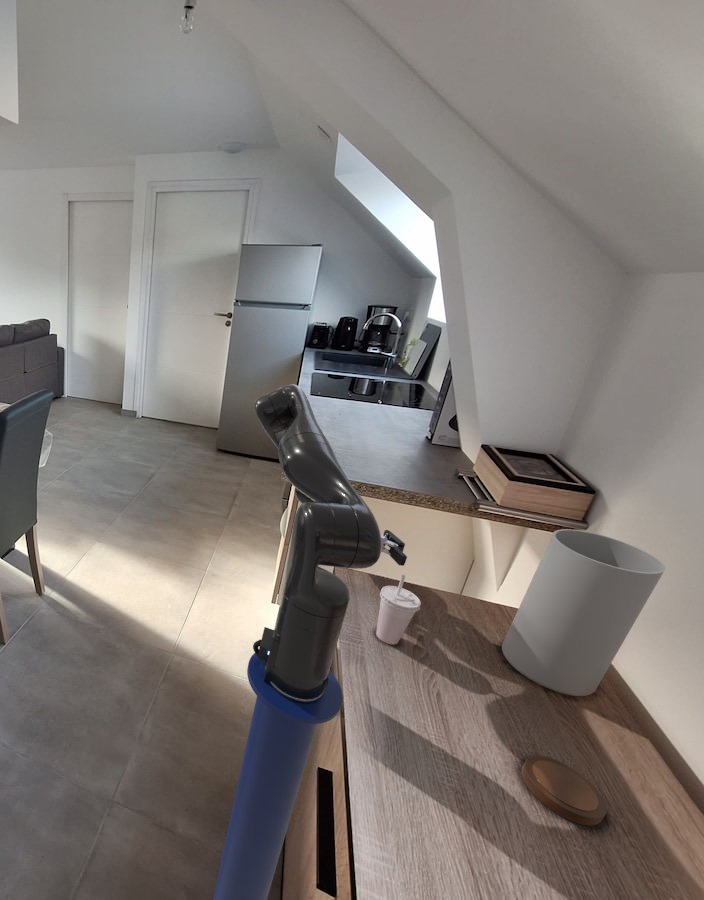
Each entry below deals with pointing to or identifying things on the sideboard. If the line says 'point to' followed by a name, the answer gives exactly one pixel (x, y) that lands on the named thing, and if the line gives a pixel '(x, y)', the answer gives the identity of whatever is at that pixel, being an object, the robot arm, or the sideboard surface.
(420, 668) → the sideboard surface
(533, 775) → the coaster
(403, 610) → the smoothie
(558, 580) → the cylinder vase
